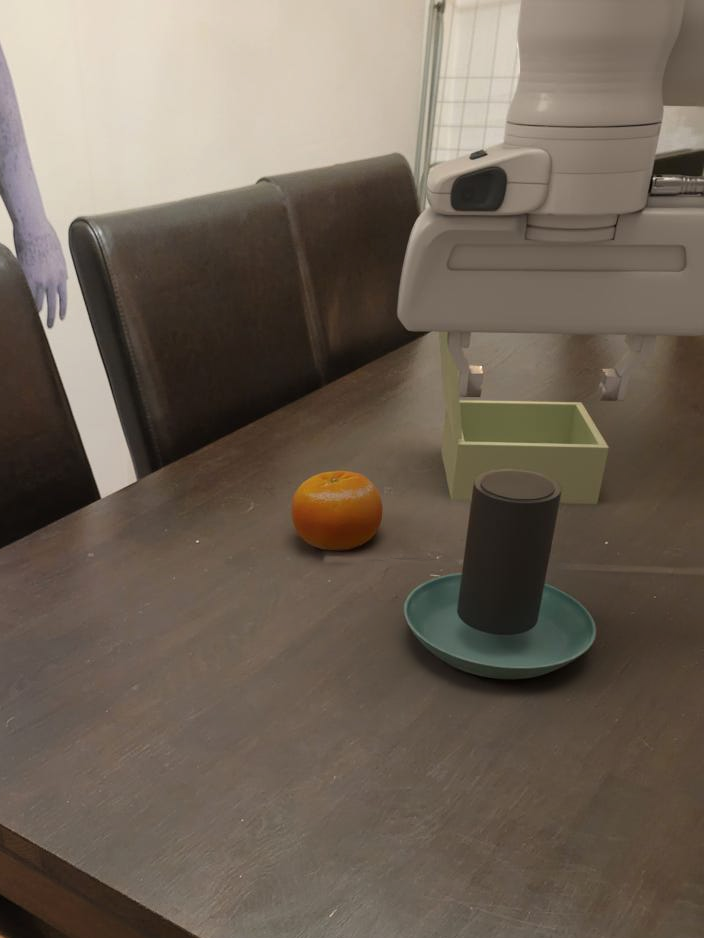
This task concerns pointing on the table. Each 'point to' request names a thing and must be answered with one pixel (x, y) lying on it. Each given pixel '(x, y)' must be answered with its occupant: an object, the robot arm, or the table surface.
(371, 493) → the fruit
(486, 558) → the black cup
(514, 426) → the chest
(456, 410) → the chest lid
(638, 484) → the table surface
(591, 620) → the saucer
